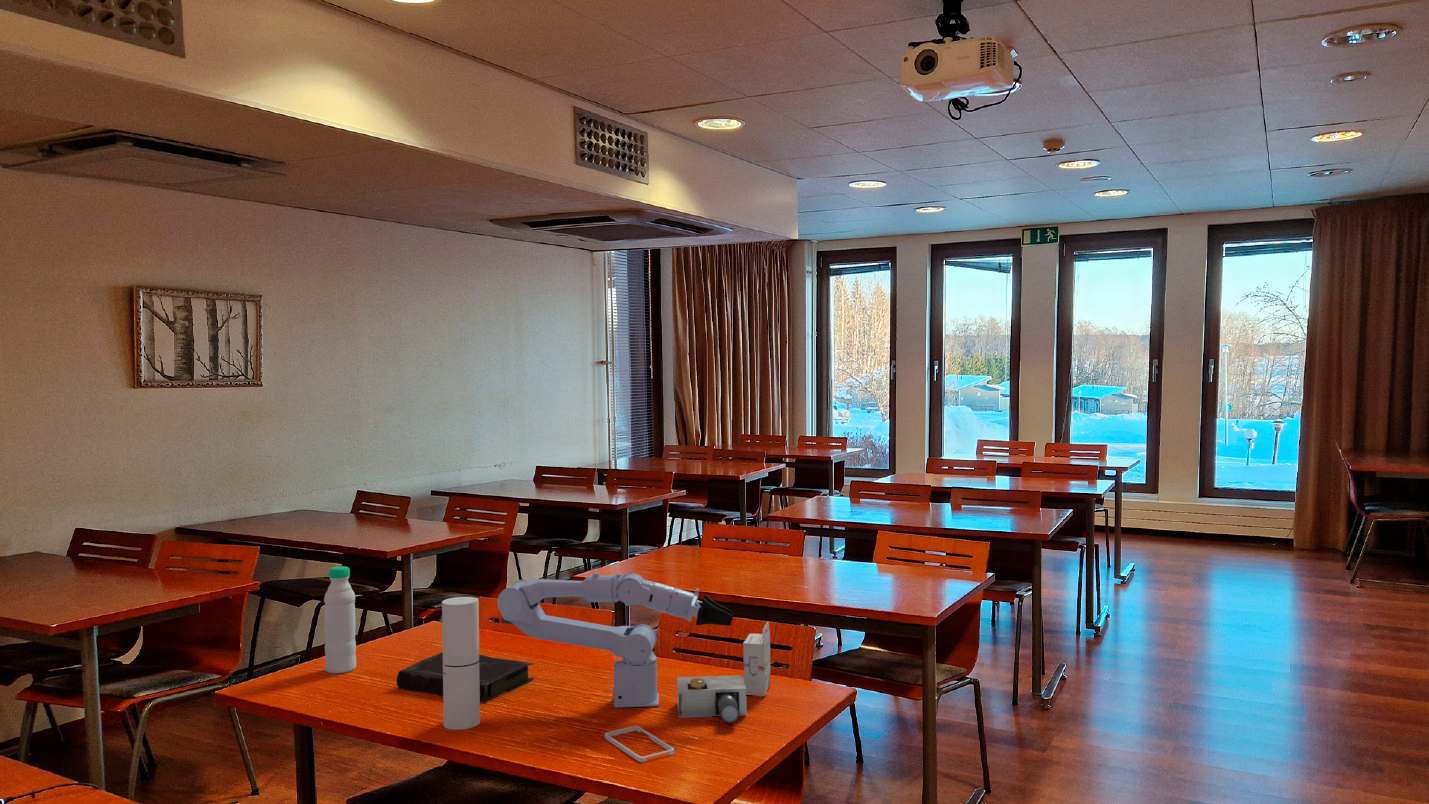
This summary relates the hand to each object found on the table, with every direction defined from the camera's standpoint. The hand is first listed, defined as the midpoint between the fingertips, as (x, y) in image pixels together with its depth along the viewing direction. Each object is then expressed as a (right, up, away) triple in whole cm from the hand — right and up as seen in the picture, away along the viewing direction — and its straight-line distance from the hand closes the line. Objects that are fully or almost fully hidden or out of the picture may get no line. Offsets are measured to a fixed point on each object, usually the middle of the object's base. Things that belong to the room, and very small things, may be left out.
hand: (732, 618), depth 201 cm
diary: (-61, -19, +15) cm, 66 cm away
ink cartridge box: (+6, -18, +8) cm, 21 cm away
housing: (-4, -18, -4) cm, 19 cm away
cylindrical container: (-55, -19, -11) cm, 59 cm away
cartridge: (-1, -18, -8) cm, 20 cm away
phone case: (-18, -19, -23) cm, 35 cm away
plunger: (-7, -13, -6) cm, 16 cm away
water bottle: (-95, -19, +27) cm, 100 cm away
